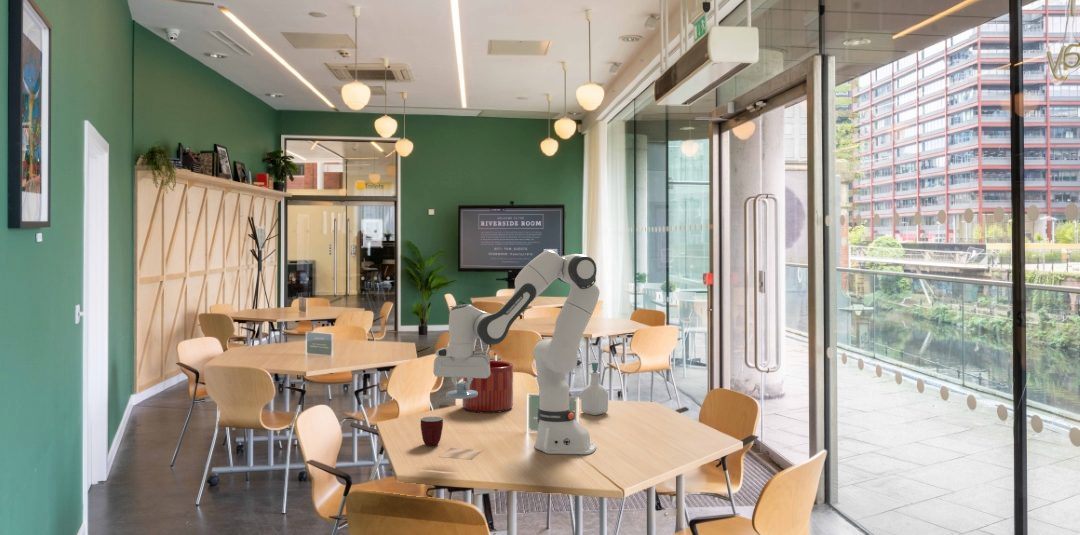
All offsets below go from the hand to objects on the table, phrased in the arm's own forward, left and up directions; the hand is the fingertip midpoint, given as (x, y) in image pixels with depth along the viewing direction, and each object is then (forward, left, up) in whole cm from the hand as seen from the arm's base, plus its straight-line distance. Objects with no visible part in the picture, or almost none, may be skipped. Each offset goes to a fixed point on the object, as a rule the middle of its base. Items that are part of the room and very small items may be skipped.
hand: (462, 390), depth 252 cm
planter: (+15, -76, -23) cm, 81 cm away
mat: (0, 0, -23) cm, 23 cm away
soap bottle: (-34, -79, -23) cm, 89 cm away
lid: (0, 0, -2) cm, 2 cm away
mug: (+14, -7, -23) cm, 28 cm away
